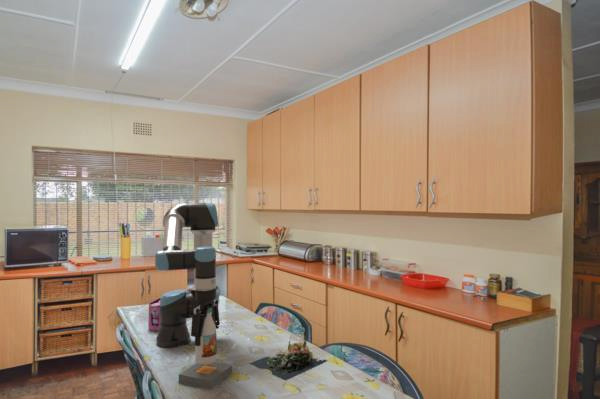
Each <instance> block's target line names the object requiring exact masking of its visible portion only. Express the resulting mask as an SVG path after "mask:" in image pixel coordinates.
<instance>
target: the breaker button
mask: <svg viewBox="0 0 600 399" xmlns="http://www.w3.org/2000/svg"><path fill="white" fill-rule="evenodd" d="M216 369H217V367H211V366H205V365H204V366H202V367H201V368H199V369H198V370H196V371H195V372H197V373H203V374H208V375H209V374H210V373H211V372H213V371H214V370H216Z"/></svg>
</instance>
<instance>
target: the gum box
mask: <svg viewBox="0 0 600 399" xmlns="http://www.w3.org/2000/svg"><path fill="white" fill-rule="evenodd" d="M160 298H161V297H159V298H157V299H154V300H153V301H151V302H149V303H148V326H147V327H148V331H150V330H151V331H159V329H160Z"/></svg>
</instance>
